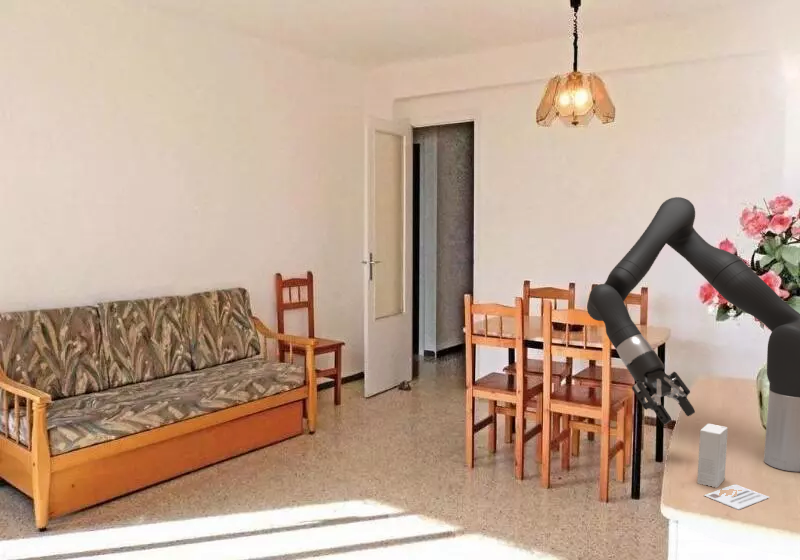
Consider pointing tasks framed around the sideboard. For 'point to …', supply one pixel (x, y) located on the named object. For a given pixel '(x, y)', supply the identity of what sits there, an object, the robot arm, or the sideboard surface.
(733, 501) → the letter
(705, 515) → the sideboard surface
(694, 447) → the sideboard surface
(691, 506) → the sideboard surface
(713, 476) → the skincare box
